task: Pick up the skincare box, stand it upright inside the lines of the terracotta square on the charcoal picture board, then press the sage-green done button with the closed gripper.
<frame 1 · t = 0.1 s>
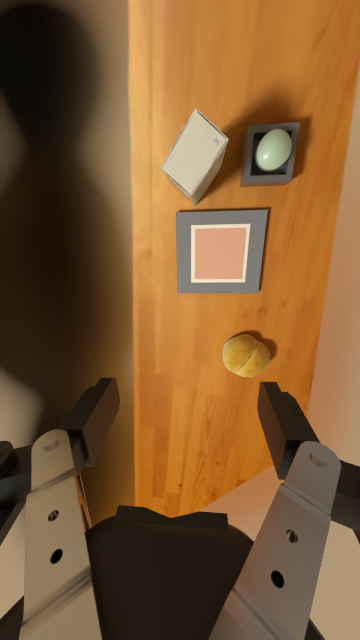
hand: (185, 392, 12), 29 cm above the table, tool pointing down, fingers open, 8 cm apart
button housing: (264, 160, 32), on the table
picture board: (218, 254, 37), on the table
skincare box: (196, 179, 34), on the table
done button: (272, 151, 28), point 4 cm above the table, slide at 0.0 cm
bread roll: (244, 352, 44), on the table
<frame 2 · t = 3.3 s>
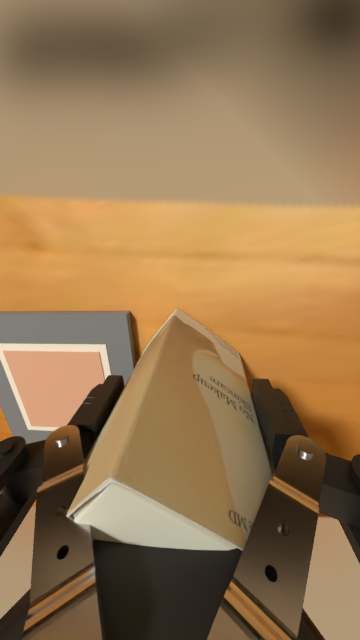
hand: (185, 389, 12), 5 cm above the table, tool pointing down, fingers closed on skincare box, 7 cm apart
picture board: (67, 385, 20), on the table
skincare box: (190, 347, 17), on the table, touching gripper
when the fingers open (7 cm above the table, at t = 8.6 s): skincare box drops 1 cm, resting on picture board.
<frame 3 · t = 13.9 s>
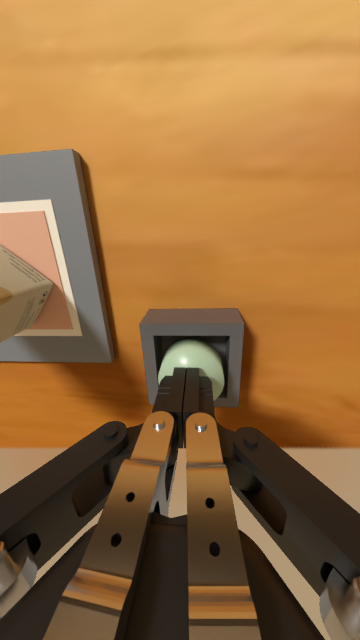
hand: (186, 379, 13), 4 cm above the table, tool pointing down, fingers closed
button housing: (193, 347, 17), on the table
picture board: (16, 274, 16), on the table
skincare box: (6, 278, 16), point 1 cm above the table, touching picture board
done button: (191, 372, 14), point 3 cm above the table, slide at 0.4 cm, touching gripper
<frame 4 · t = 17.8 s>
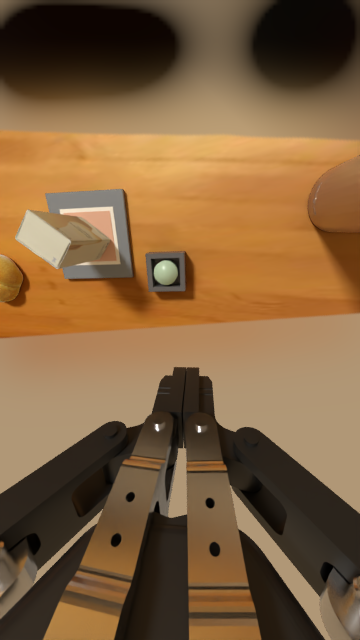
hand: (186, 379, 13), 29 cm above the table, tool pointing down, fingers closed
button housing: (168, 270, 40), on the table
picture board: (93, 237, 39), on the table
skincare box: (90, 238, 38), point 1 cm above the table, touching picture board
done button: (166, 272, 38), point 2 cm above the table, slide at 1.5 cm
bread roll: (5, 277, 44), on the table
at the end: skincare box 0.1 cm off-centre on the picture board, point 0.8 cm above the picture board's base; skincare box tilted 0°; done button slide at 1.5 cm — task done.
